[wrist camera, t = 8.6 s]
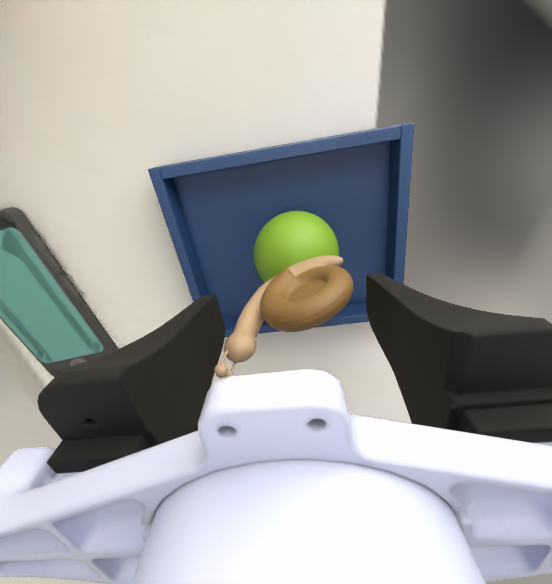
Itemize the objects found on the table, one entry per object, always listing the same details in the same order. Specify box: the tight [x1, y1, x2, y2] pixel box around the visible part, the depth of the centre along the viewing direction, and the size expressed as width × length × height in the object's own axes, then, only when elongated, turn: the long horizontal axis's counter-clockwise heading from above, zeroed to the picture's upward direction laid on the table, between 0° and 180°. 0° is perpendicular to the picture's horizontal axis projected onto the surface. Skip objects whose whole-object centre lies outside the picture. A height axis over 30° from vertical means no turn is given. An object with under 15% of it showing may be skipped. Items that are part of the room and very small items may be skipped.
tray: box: [148, 123, 414, 337], centre depth 20 cm, size 15×13×2 cm
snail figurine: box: [214, 211, 353, 379], centre depth 15 cm, size 5×6×12 cm
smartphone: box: [0, 208, 118, 377], centre depth 24 cm, size 7×1×15 cm
